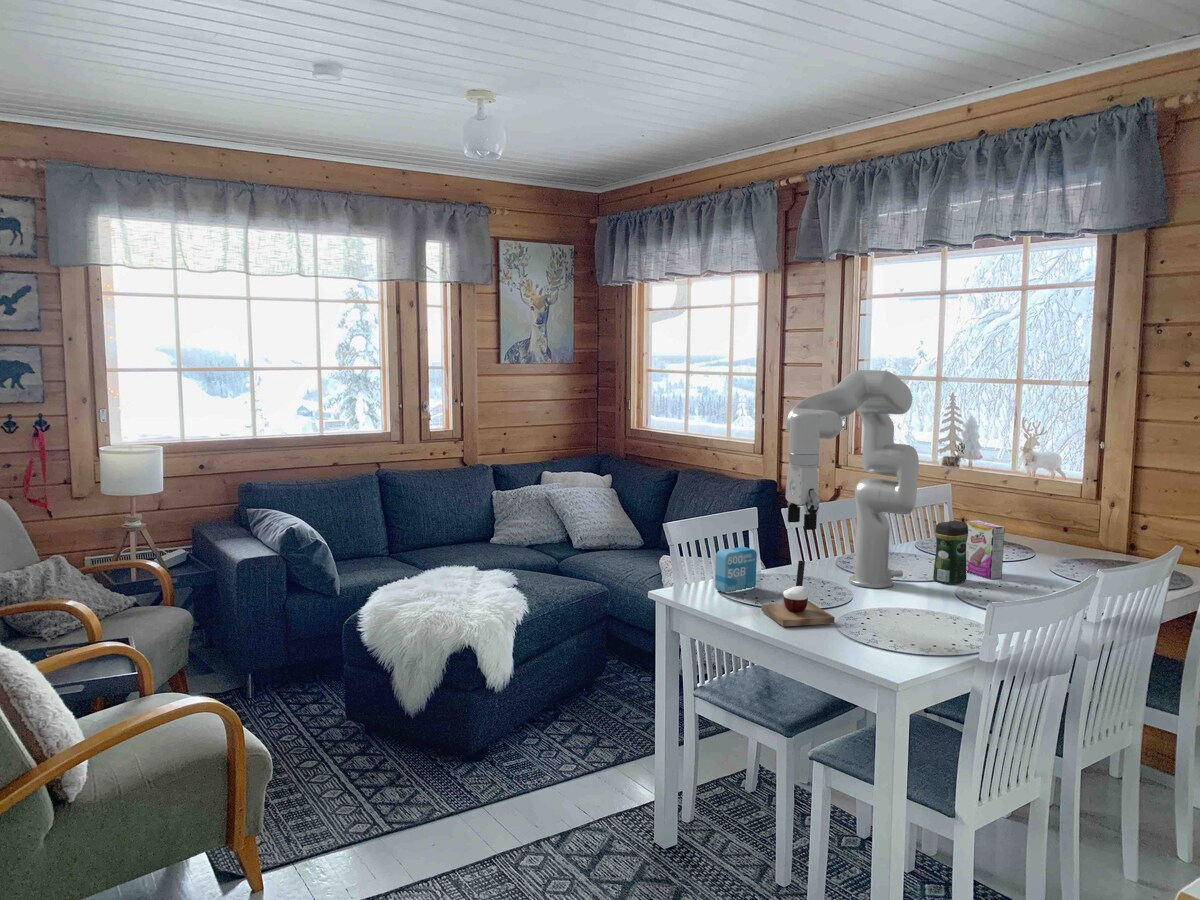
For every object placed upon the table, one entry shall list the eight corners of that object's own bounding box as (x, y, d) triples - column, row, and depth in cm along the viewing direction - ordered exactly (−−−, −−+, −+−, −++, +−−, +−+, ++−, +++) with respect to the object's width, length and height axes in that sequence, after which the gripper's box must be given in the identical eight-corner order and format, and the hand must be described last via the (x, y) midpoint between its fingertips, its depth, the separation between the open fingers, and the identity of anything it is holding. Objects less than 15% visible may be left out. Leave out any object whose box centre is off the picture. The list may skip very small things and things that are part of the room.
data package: (724, 595, 256) (725, 553, 255) (714, 591, 260) (715, 550, 259) (756, 589, 263) (757, 548, 262) (745, 585, 267) (746, 545, 265)
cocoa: (795, 617, 230) (796, 572, 228) (775, 610, 235) (777, 566, 233) (817, 608, 236) (819, 564, 234) (797, 602, 241) (799, 559, 239)
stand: (810, 609, 243) (810, 602, 243) (834, 624, 229) (834, 617, 229) (761, 612, 240) (761, 604, 240) (782, 628, 226) (783, 620, 226)
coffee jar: (947, 576, 280) (950, 517, 278) (970, 582, 273) (973, 521, 271) (927, 580, 275) (931, 520, 273) (950, 586, 268) (953, 525, 266)
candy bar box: (963, 571, 286) (965, 520, 285) (975, 570, 288) (978, 519, 286) (990, 580, 276) (993, 527, 274) (1002, 578, 278) (1005, 526, 276)
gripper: (776, 456, 239) (774, 519, 241) (804, 465, 222) (802, 533, 224) (802, 455, 240) (800, 518, 242) (832, 464, 224) (830, 532, 226)
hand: (801, 525), depth 233 cm, fingers open, 9 cm apart
